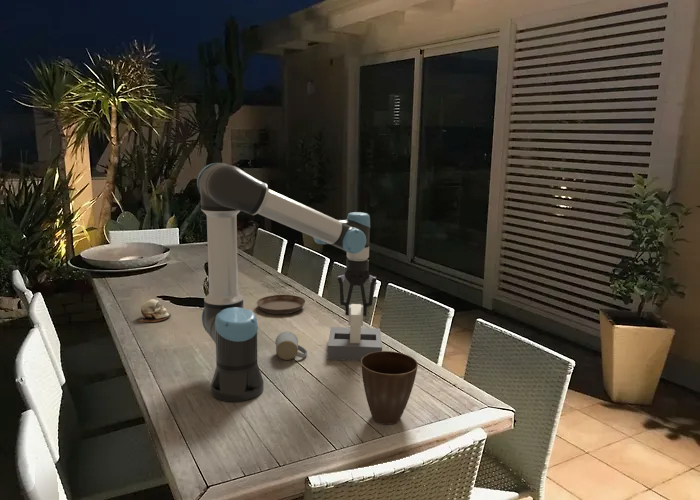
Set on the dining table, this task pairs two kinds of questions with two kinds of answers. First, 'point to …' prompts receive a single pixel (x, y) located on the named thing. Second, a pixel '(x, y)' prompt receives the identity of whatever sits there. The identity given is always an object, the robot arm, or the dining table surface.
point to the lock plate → (353, 351)
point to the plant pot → (388, 383)
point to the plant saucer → (281, 304)
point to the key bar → (355, 323)
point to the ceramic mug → (288, 346)
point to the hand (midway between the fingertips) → (355, 324)
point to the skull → (153, 311)
